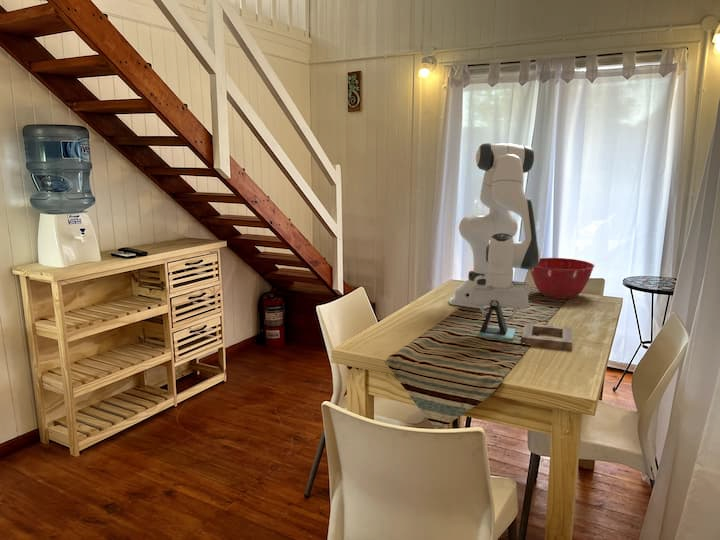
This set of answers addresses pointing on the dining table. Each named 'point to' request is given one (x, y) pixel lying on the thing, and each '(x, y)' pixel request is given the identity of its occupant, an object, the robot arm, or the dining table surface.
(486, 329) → the dark gray a-frame stand
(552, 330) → the walnut holder
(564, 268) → the mixing bowl
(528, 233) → the robot arm
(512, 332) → the teal mat
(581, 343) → the dining table surface
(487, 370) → the dining table surface
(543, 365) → the dining table surface
